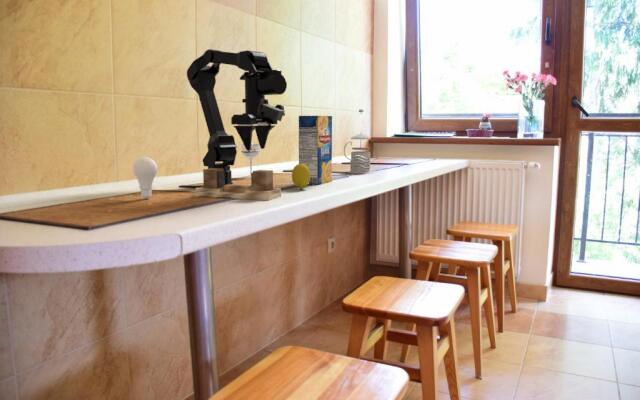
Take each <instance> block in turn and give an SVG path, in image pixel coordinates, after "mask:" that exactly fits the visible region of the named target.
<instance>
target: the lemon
mask: <svg viewBox="0 0 640 400" xmlns="http://www.w3.org/2000/svg"><path fill="white" fill-rule="evenodd" d="M291 179H292V183H293V184H294V186H296V187H297V188H299V190H302V189H303V188H304V187H306V186H308V185H309V184H308V183H309V181H310V171H309V168H308V167H307V166H306V165H304V164H303V163H299V162H298V163H297V164H296V165H295V166H294V167H293V169H292V172H291Z"/></svg>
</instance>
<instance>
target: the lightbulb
mask: <svg viewBox="0 0 640 400" xmlns="http://www.w3.org/2000/svg"><path fill="white" fill-rule="evenodd" d="M132 172H133V174H134V176H135V177H136V179H137V182H138V186H139V189H140V197H142V198H143V199H144V200H149V198H151V197H152V189H153V183H154V179H155V177H156V175H157V173H158V165H157V163H156V162H155V160H154V159H152V158H151V157H148V156H141V157H139V158H137V159H136V160H135V161H134V163H133V164H132Z"/></svg>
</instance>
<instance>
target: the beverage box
mask: <svg viewBox="0 0 640 400" xmlns="http://www.w3.org/2000/svg"><path fill="white" fill-rule="evenodd" d="M332 158H333V116H332V115H298V164H299V163H303V164H304V165H306V166H307V167H308V168H309V171H310V181H309V184H308V185H311V184H312V185H314V186H315V185H316V186H318V185H323V184H327V183H332V181H333V177H332V176H333V174H332V173H333V171H332V169H333V168H332V167H333V166H332V165H333V159H332Z"/></svg>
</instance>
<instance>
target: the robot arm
mask: <svg viewBox="0 0 640 400" xmlns="http://www.w3.org/2000/svg"><path fill="white" fill-rule="evenodd" d="M209 64H212V65H209ZM221 64H223V65H229V66H235V67H237V68H238V69H241V70H242V71H244V73H243V74H242V75H240V77H239V80H240V81H244V98H242V100H241V102H242V104H243V103H244V111H245V112H243V113H242V114H233V115H232V116H231V119H230V120H231V121H230V123H231V124H230V125H233V128H235V130H236V132H237V134H238V136H239V137H240V139H241V142H242V144H244V146H245V148H246V150H250V149H251V144H252V138H253V131H254V130H255V134H256V137H257V141H258V144H259V148H260V150H263V149H264V150H265V148H266V144H267V140H268V138H269V134H270V131H271V130H272V129H273V128H275V127H276V125H278V121H279V122H281V121H282V120H283V117H285V116H286V112H285V108H284V105H282V104H279V103H278V104H276V105H271V104H269V100H268V99H267V98H266V96H274V95H277V96H278V95H283V94H285V92H286V91H287V86H288V84H287V81H286V78H285V77H284V75H283V74H282V70H281V69H274V68H273V67H272V65H271V63H270V61H269V60H268V56H267V54H266V53H265V52H261V51H254V50H242V51H239V52H230V51H222V50H218V49H212V48H211V49H206V50H205V51H204V52H203V54H202V55H201V56H199V57H197V58H196V59H195V60H193V61H192V62H191V64H190V65H189V67H188V68H187V70H186V77H187V80H188V82H189V85H190V87H191V88H192V89H193V90H194V91H195V92H196V93H197V95H198V97H199V102H200V106H201V109H202V114H203V117H204V120H205V124H206V128H207V131H208V134H209V138H208V142H207V144H206V145H207V152H206V153H205V156H203V158H202V163H203V167H207V169H209V168H218V169H223V170H224V171H225V185H228V184H231V185H234V182H232V181H233V180H232V178H233V177H232V170H231V166H234V165H235V161H236V157H237V153H238V152H237V151H238V150H237V148H238V146H237V144H236V142H235V136H234V135H232V134H231V135H230V134H228V133H227V132H226V129H225V126H224V122H223V118H222V115H221V112H220V107H219V104H218V102H217V99H216V94H215V86H216V82H217V80H216V77H217V75H218V74H219V73H220V69H221V68H220V65H221Z"/></svg>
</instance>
